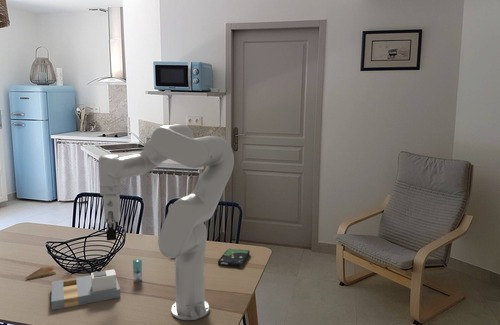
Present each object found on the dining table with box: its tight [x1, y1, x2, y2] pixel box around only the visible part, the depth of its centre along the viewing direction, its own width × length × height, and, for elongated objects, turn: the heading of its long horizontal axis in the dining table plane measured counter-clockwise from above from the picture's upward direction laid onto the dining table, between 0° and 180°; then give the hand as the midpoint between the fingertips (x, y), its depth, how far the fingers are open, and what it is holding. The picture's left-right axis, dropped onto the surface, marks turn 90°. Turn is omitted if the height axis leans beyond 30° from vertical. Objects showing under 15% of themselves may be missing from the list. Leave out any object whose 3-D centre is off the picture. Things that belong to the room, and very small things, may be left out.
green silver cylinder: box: [132, 258, 143, 283], centre depth 159 cm, size 3×3×8 cm
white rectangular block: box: [90, 269, 117, 292], centre depth 147 cm, size 5×8×5 cm, turn 115°
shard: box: [25, 265, 57, 280], centre depth 164 cm, size 11×8×2 cm
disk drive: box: [217, 247, 250, 269], centre depth 180 cm, size 10×3×15 cm
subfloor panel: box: [50, 274, 121, 311], centre depth 148 cm, size 16×22×3 cm
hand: (112, 235), depth 149 cm, fingers open, 9 cm apart
